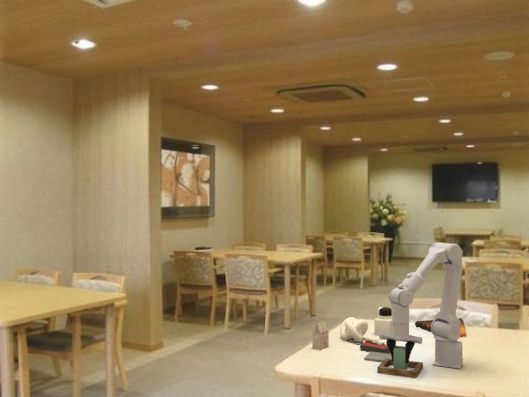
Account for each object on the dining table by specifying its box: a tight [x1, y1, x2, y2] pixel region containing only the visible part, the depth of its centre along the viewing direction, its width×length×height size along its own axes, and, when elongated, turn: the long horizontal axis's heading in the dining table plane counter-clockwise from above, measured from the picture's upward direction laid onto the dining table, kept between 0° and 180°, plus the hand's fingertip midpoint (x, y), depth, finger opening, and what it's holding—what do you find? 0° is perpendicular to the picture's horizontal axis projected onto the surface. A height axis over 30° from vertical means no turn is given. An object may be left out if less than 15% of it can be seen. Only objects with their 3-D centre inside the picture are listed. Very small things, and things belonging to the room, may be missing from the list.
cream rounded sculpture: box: [339, 316, 369, 342], centre depth 238 cm, size 11×12×9 cm
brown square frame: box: [377, 358, 424, 379], centre depth 194 cm, size 13×13×2 cm
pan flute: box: [414, 317, 467, 338], centre depth 257 cm, size 25×3×25 cm
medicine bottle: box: [373, 306, 392, 336], centre depth 248 cm, size 7×7×12 cm
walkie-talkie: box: [352, 338, 391, 354], centre depth 222 cm, size 9×4×20 cm
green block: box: [393, 345, 409, 370], centre depth 194 cm, size 4×4×8 cm
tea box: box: [311, 321, 330, 351], centre depth 224 cm, size 4×7×10 cm, turn 145°
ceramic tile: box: [363, 352, 392, 363], centre depth 209 cm, size 10×10×1 cm
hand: (400, 362), depth 194 cm, fingers closed on green block, 4 cm apart
